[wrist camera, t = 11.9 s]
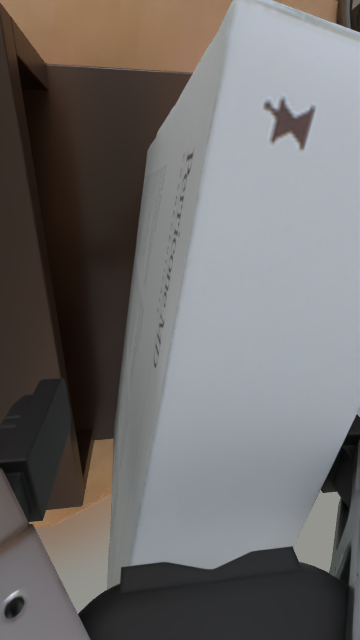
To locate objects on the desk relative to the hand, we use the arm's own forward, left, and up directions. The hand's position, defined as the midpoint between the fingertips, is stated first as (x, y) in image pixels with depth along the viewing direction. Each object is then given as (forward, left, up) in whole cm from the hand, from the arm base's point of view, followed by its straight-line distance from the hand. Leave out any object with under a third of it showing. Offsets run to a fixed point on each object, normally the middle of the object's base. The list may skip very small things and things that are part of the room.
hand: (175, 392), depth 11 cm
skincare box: (0, +1, -12) cm, 12 cm away
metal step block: (+4, 0, -14) cm, 15 cm away
